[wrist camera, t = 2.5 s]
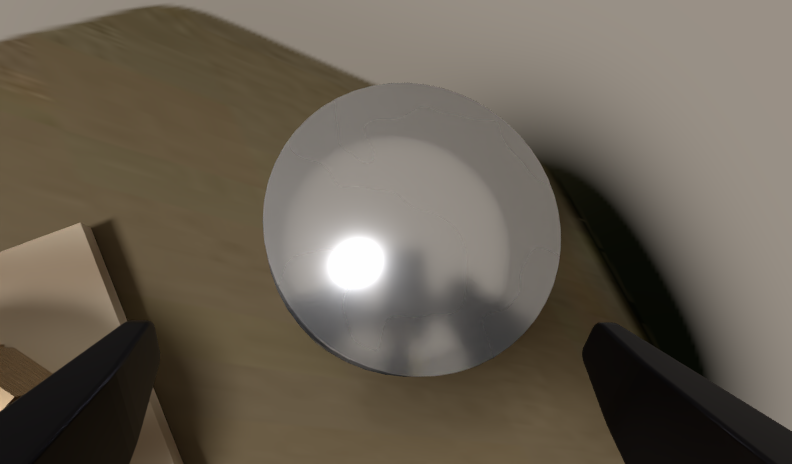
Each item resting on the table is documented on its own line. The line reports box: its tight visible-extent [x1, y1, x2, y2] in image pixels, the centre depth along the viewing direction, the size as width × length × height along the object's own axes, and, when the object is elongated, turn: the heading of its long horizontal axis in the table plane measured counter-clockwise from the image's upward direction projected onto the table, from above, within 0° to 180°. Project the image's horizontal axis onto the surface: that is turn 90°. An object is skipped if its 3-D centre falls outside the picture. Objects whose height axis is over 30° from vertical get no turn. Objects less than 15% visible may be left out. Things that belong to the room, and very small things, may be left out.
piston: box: [263, 83, 561, 377], centre depth 12 cm, size 5×5×12 cm
